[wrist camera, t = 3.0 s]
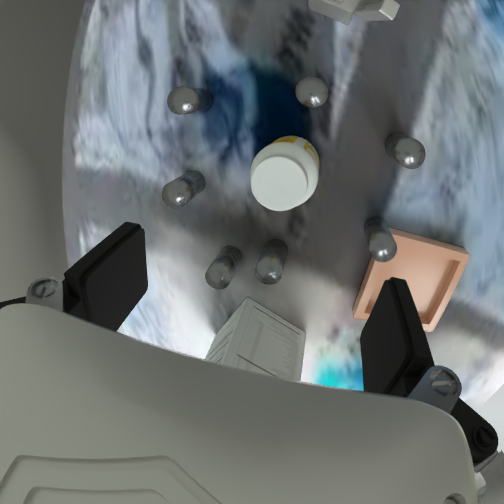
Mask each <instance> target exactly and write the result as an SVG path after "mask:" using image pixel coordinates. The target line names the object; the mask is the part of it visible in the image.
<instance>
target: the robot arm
mask: <svg viewBox="0 0 504 504" xmlns="http://www.w3.org/2000/svg"><path fill="white" fill-rule="evenodd" d="M64 276H65V279H64V280H63V281H61V280H60V279H58V278H57V277H53V276H47V277H42V278H39V279H37V280H35V281H34V282H33V283H31V285H30V286H29V287H28V290H27V295H26V297H21V298H17V299H13V300H9V301H4V302H0V504H504V453H503V452H502V450H501V451H500V452H499V453H498V451H497V446H498V436H497V433H496V431H495V429H494V428H493V427H492V426H491V425H490V424H489V423H488V422H487V421H486V420H484V419H483V418H482V417H481V416H480V415H479V414H478V413H476V412H475V411H474V410H473V409H472V408H471V407H469V406H468V405H467V404H466V403H465V402H464V401H462V400H461V399H460V398H459V396H460V394H461V390H462V387H461V382H460V380H459V378H458V377H457V375H456V374H455V373H454V372H453V371H452V370H450V369H448V368H446V367H443V366H435V365H434V362H433V358H432V355H431V351H430V348H429V345H428V341H427V338H426V335H425V332H424V329H423V326H422V323H421V320H420V317H419V314H418V311H417V308H416V306H415V303H414V300H413V297H412V295H411V292H410V289H409V287H408V284H407V281H406V280H405V279H401V278H396V277H391V278H390V279H389V280H387V279H386V280H385V281H384V283H383V285H382V288H381V290H380V293H379V295H378V297H377V300H376V302H375V304H374V306H373V309H372V311H371V313H370V315H369V318H368V320H367V322H366V324H365V326H364V328H363V330H362V333H361V337H360V344H361V356H362V368H363V383H364V391H357V390H350V389H343V388H337V387H331V386H324V385H318V384H312V383H307V382H301V381H296V380H291V379H286V378H281V377H276V376H271V375H266V374H262V373H257V372H253V371H249V370H244V369H240V368H236V367H232V366H228V365H224V364H220V363H216V362H212V361H209V360H205V359H201V358H198V357H194V356H191V355H187V354H184V353H180V352H177V351H174V350H170V349H167V348H164V347H160V346H157V345H154V344H151V343H148V342H145V341H142V340H139V339H136V338H133V337H130V336H127V335H124V334H121V333H119V332H116V331H117V330H118V328H119V327H120V326H121V324H122V323H123V322H124V320H125V319H126V318H127V316H128V315H129V314H130V312H131V311H132V310H133V308H134V307H135V306H136V304H137V303H138V302H139V301H140V299H141V298H142V297H143V295H144V294H145V293H146V291H147V288H148V278H147V265H146V250H145V232H144V229H142V228H141V226H140V224H136V223H131V222H125V223H124V224H122V225H121V226H120V227H119V228H117V229H116V230H115V231H114V232H112V233H111V234H110V235H109V236H107V237H106V238H105V239H104V240H102V241H101V242H100V243H99V244H98V245H96V246H95V247H94V248H93V249H92V250H90V251H89V252H88V253H87V254H86V255H85V256H83V257H82V258H81V259H80V260H79V261H78V262H76V263H75V264H74V265H73V266H72V267H71V268H70V269H68V270H67V271H66V272H65V273H64Z"/></svg>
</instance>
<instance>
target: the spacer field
mask: <svg viewBox="0 0 504 504" xmlns="http://www.w3.org/2000/svg"><path fill="white" fill-rule="evenodd" d="M296 96H297V99H298V100H299V101H300V103H302V104H303V105H305V106H307V107H311V108H317V107H320V106H322V105H323V104H324V103H325V102H326V100H327V98H328V88H327V86H326V84H325V83H324V82H323V81H322V80H321V79H319V78H316V77H306V78H304V79H302V80H301V81H300V82H299V83H298V84H297V86H296ZM167 103H168V107H169V109H170V110H171V111H172V112H173V113H175V114H190V113H200V112H205V111H207V110H209V109H210V108H211V106H212V104H213V95H212V93H211V92H210V91H209V90H207V89H204V88H195V87H184V86H179V87H176V88H174V89H173V90H172V91H171V92H170V94H169V96H168V99H167ZM385 149H386V151H387V153H388V154H389V155H390V156H391V157H392V158H393V159H395V160H396V161H397V162H399V163H400V164H401V165H403V166H404V167H406V168H408V169H415V168H418V167H419V166H421V165H422V163H423V162H424V160H425V149H424V147H423V145H422V144H421V143H420V142H419V141H418V140H416V139H413V138H411V137H408V136H405V135H402V134H399V133H394V134H391V135H390V136H389V137H388V138H387V139H386V142H385ZM204 187H205V179H204V177H203V176H202V174H201V173H199V172H197V171H189V172H187V173H186V174H184V175H182V176H180V177H178V178H177V179H175V180H173V181H171V182H169V183H168V184H166V185H165V186H164V188H163V190H162V198H163V200H164V202H165V203H166V204H167V205H168V206H169V207H171V208H180V207H182V206H183V205H184V204H186V203H187V202H188V201H190V200H191V199H192V198H193V197H195V196H196V195H197V194H199V193H200V192H201V191H202V190H203V189H204ZM364 233H365V236H366V239H367V243H368V246H369V250H370V253H371V256H372V258H373V259H374V260H376V261H378V262H387V261H390V260H391V259H393V258H394V256H395V255H396V253H397V244H396V242H395V240H394V238H393V236H392V234H391V232H390V230H389V227H388V225H387V223H386V222H385V221H384V220H383V219H382V218H379V217H373V218H371V219H369V220H368V221H367V222H366V223H365V226H364ZM287 252H288V249H287V246H286V244H285V243H284V242H282V241H280V240H277V239H273V240H270V241H268V242H267V243H266V245H265V247H264V249H263V252H262V254H261V257H260V259H259V262H258V264H257V266H256V269H255V274H256V277H257V278H258V280H259V281H261V282H262V283H264V284H275V283H277V282H278V281H279V280H280V279H281V276H282V272H283V268H284V264H285V260H286V256H287ZM241 258H242V257H241V253H240V251H239V250H238V249H237V248H235V247H233V246H226V247H224V248H222V250H221V251H220V252H219V254H218V255H217V257H216V258H215V260H214V261H213V263H212V264H211V266H210V267H209V269H208V270H207V272H206V274H205V278H206V281H207V283H208V284H209V285H210V286H211V287H213V288H215V289H224V288H226V287H227V286H228V285H229V283H230V281H231V279H232V277H233V275H234V273H235V271H236V269H237V267H238V265H239V263H240V262H241Z"/></svg>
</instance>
